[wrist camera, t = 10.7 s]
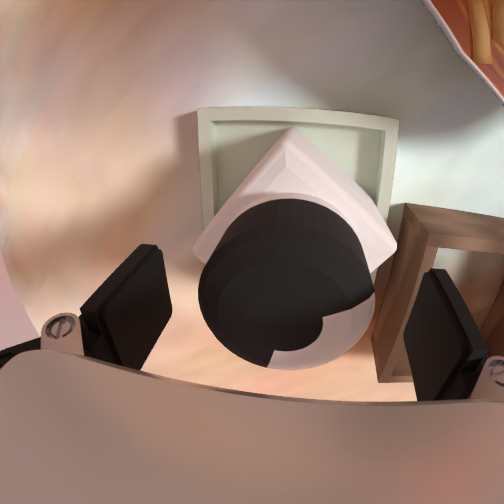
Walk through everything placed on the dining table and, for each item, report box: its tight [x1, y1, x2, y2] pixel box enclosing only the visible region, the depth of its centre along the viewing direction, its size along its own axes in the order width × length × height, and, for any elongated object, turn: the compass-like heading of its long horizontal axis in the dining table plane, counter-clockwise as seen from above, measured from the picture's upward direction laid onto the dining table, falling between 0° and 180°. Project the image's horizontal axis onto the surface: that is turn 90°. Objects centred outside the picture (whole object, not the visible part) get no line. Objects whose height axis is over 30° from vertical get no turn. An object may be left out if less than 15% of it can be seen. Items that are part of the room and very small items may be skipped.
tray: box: [197, 107, 399, 285], centre depth 20 cm, size 12×12×2 cm
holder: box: [371, 203, 504, 383], centre depth 19 cm, size 13×13×5 cm
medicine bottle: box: [192, 127, 397, 370], centre depth 15 cm, size 7×7×12 cm
